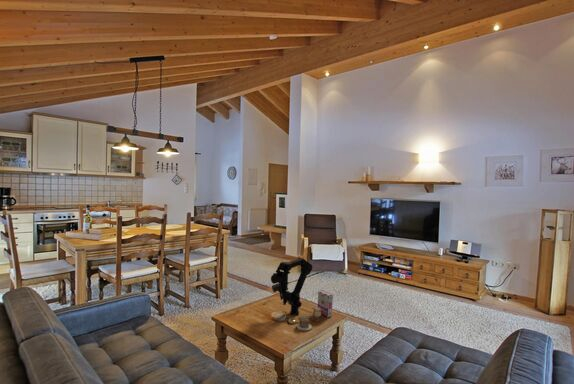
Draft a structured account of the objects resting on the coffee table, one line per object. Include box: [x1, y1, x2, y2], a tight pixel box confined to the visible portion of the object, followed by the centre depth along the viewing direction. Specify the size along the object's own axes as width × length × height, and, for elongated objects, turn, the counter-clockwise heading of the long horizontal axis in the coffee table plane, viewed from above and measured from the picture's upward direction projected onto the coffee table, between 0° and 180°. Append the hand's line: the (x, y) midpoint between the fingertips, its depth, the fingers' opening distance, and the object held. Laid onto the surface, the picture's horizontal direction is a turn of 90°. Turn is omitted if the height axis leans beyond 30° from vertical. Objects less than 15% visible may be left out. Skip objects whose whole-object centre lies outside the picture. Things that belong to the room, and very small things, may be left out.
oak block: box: [312, 306, 322, 316], centre depth 213 cm, size 4×4×4 cm
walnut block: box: [298, 316, 310, 328], centre depth 202 cm, size 5×5×5 cm
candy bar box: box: [317, 289, 334, 318], centre depth 224 cm, size 11×5×16 cm, turn 37°
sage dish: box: [296, 322, 312, 332], centre depth 202 cm, size 10×10×1 cm
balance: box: [288, 313, 322, 325], centre depth 211 cm, size 24×6×5 cm, turn 104°
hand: (282, 302), depth 213 cm, fingers open, 9 cm apart
